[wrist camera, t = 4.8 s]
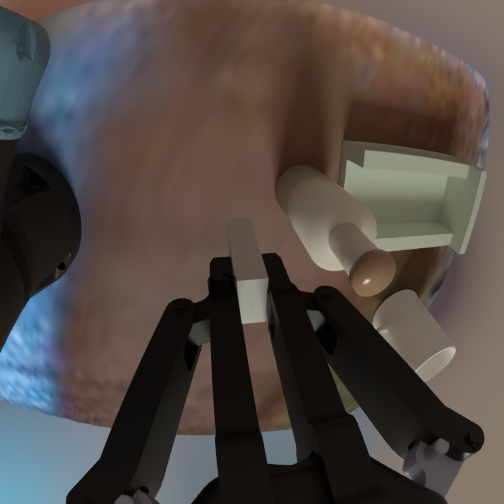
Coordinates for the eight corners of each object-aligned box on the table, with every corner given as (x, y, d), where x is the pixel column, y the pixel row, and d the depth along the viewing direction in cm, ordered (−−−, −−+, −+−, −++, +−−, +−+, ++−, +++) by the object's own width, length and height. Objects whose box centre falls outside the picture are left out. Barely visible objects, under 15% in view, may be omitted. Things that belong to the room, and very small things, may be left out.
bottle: (274, 215, 27) (325, 318, 15) (275, 164, 25) (341, 237, 13) (323, 213, 28) (398, 304, 16) (327, 164, 25) (422, 232, 13)
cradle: (332, 234, 30) (358, 267, 24) (342, 140, 24) (377, 154, 19) (434, 229, 31) (464, 253, 26) (450, 155, 26) (487, 171, 20)
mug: (346, 332, 39) (377, 396, 29) (370, 287, 35) (414, 353, 25) (401, 328, 41) (434, 380, 31) (425, 289, 37) (467, 341, 27)
